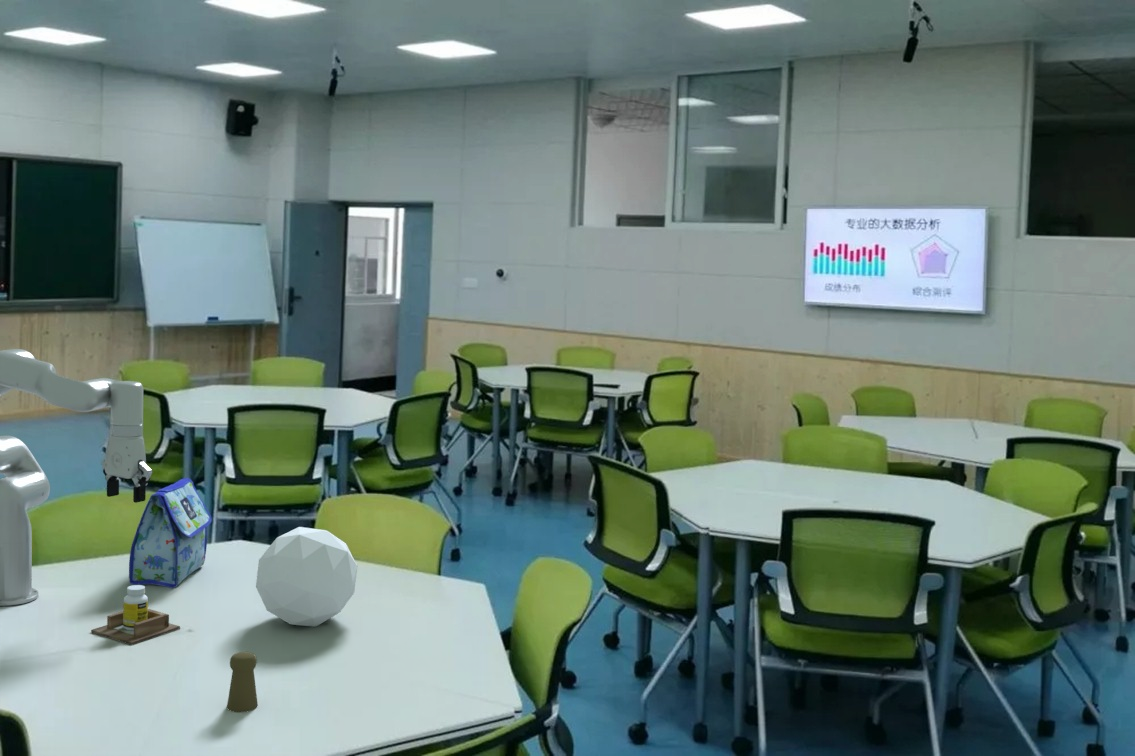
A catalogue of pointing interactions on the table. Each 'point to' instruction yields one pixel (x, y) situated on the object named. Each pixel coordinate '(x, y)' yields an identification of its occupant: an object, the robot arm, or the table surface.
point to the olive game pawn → (242, 683)
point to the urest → (136, 627)
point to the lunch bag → (170, 536)
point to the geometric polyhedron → (306, 576)
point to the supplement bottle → (134, 606)
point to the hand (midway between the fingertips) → (126, 498)
